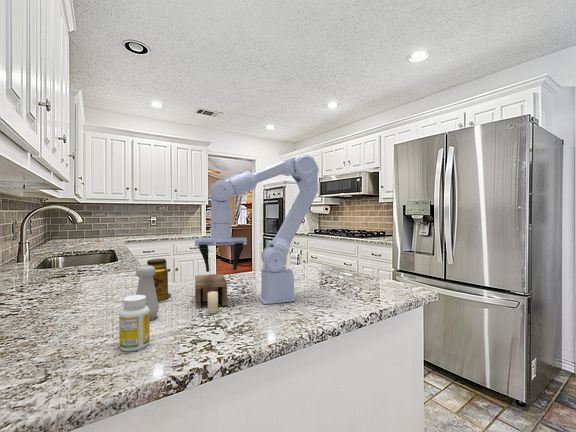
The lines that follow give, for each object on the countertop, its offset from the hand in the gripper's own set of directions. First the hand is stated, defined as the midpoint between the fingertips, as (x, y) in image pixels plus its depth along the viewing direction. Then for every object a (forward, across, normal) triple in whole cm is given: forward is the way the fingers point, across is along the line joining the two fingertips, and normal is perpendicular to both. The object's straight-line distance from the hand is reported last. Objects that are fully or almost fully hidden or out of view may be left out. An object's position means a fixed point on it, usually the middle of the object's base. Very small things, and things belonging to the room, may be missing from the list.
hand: (221, 270), depth 85 cm
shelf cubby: (+9, +3, -3) cm, 10 cm away
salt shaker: (+10, +19, +7) cm, 22 cm away
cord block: (+9, +3, +1) cm, 10 cm away
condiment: (+10, +18, -10) cm, 23 cm away
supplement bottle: (+10, +19, +22) cm, 30 cm away
